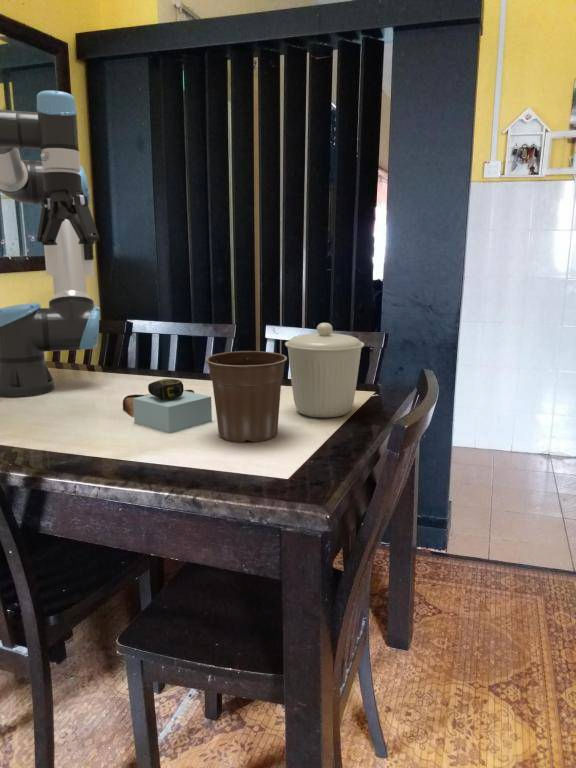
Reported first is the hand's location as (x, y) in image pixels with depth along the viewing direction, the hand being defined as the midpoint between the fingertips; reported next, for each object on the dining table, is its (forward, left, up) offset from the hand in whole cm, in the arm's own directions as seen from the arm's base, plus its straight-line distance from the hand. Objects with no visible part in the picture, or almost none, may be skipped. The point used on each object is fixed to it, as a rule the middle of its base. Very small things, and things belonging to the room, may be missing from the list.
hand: (69, 275), depth 129 cm
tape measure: (+20, +9, -26) cm, 34 cm away
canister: (+41, +38, -32) cm, 64 cm away
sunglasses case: (+10, +16, -32) cm, 38 cm away
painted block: (+20, +10, -32) cm, 39 cm away
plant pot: (+39, +14, -32) cm, 52 cm away
